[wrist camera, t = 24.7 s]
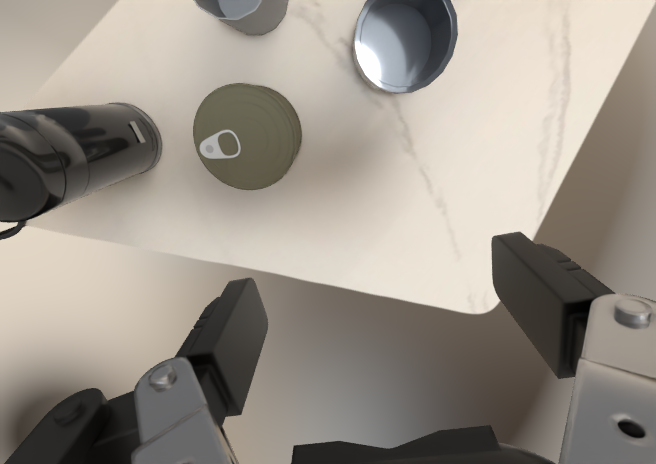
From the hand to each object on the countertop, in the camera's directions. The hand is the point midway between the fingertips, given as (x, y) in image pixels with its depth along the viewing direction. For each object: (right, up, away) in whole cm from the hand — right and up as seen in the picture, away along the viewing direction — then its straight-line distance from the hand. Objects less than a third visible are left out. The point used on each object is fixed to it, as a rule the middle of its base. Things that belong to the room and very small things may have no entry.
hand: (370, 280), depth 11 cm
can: (-11, +15, +34) cm, 38 cm away
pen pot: (+6, +24, +29) cm, 38 cm away
